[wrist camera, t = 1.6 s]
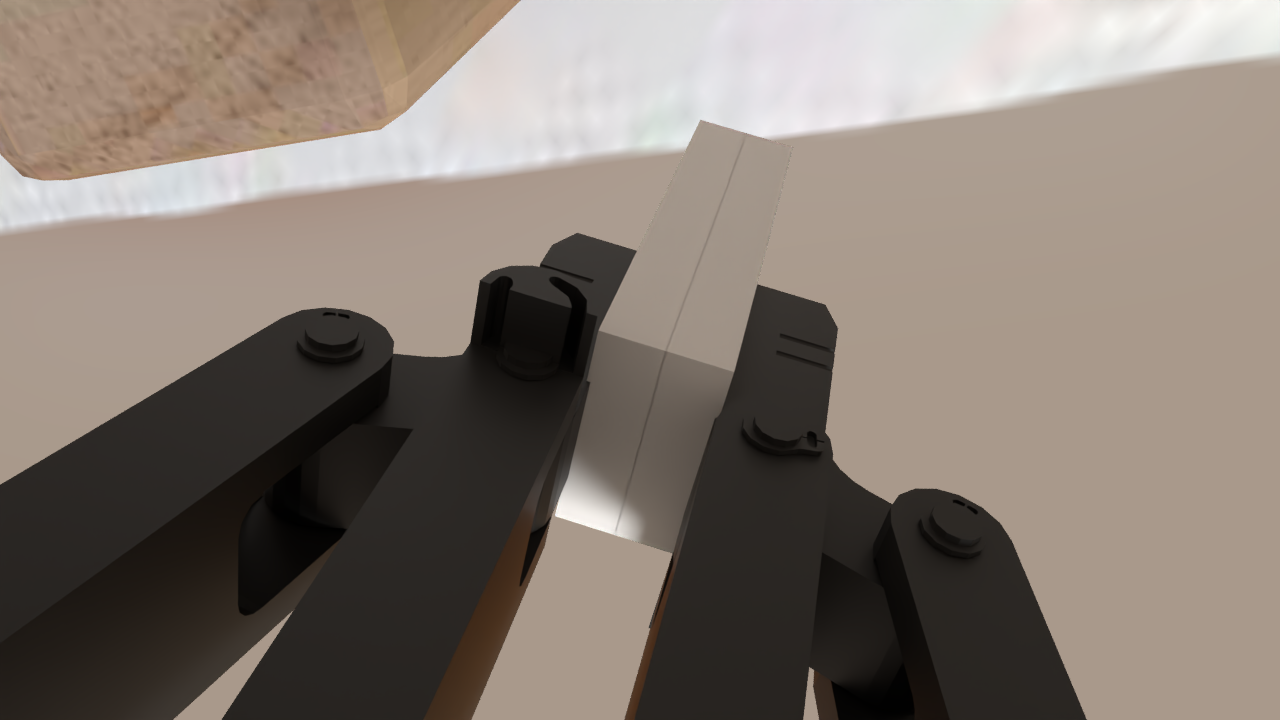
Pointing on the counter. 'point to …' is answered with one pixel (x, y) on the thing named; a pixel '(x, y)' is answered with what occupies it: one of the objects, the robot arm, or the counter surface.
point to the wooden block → (213, 75)
